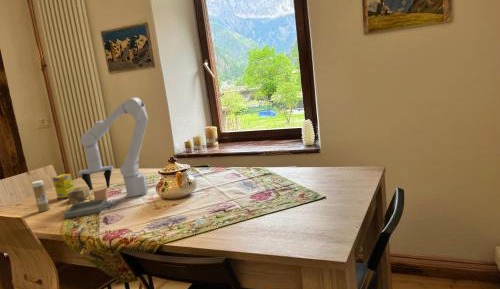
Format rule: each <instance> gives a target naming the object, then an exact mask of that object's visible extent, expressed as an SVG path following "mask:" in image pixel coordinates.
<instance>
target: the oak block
mask: <svg viewBox="0 0 500 289" xmlns="http://www.w3.org/2000/svg"><path fill="white" fill-rule="evenodd" d="M67 194H68V202H69V203H70V204H71V202H72V203H76V202H75V201H78V202H83V201H82V200H84V201H86V200H87V199H88V198H89V197H90V193H89V187H88V185H86V186H81V187H74V188H73V189H71V190H70V191H69V192H68V193H67ZM88 196H89V197H88ZM87 197H88V198H87Z"/></svg>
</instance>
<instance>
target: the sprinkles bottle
mask: <svg viewBox="0 0 500 289" xmlns="http://www.w3.org/2000/svg"><path fill="white" fill-rule="evenodd" d="M44 184H45V183H44V180H35V181H33V182H31V187H32V190H33V192H34V193H33V194H34V195H33V196H34V198H35V202H36V205H37V208H38V213H39V212H40V213H43V212H47V211H49V210H50V209H51V207H50V205H49V201H48V197H47V192H46V189H45V185H44Z"/></svg>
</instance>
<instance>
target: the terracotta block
mask: <svg viewBox="0 0 500 289" xmlns="http://www.w3.org/2000/svg"><path fill="white" fill-rule="evenodd" d="M92 192H93V196H94V197H93V198H94V200H100V199H106V200H107V201H108V199H109V198H110V193H109V187H107V186H103V187H102V186H101V187H97V188H95V189H94V190H93V191H92Z"/></svg>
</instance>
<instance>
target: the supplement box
mask: <svg viewBox="0 0 500 289" xmlns="http://www.w3.org/2000/svg"><path fill="white" fill-rule="evenodd" d="M52 182H53V185H54V189H55V193H56V198H57V200H64V199H65V200H69V198H68V194H67V193H68V192H69V191H70V190H71V189H73V188H75V187H74V183H73V179H72V174H71V173H64V174H60V175H57V176H54V177H52Z"/></svg>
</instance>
